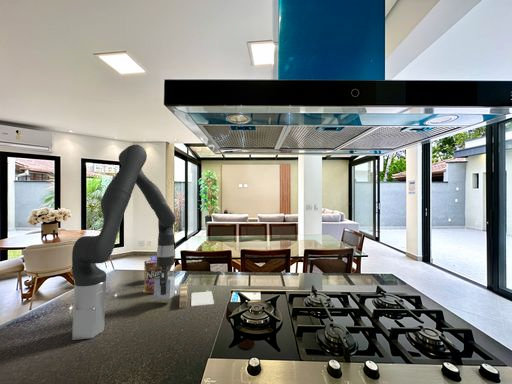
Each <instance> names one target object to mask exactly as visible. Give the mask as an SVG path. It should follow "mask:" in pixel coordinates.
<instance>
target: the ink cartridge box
mask: <svg viewBox="0 0 512 384" xmlns="http://www.w3.org/2000/svg"><path fill="white" fill-rule="evenodd" d="M147 261H157V254H155V255H150V259H149V260H144V264H143V265H144V275H143V276H144V279H143V281H144V283H145V263H146V262H147Z"/></svg>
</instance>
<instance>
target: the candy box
mask: <svg viewBox="0 0 512 384" xmlns="http://www.w3.org/2000/svg"><path fill="white" fill-rule="evenodd" d="M146 261H147V262H146V263H145V282H144V288H143V289H144V290H143V292H144V294H154V279H155V278H157V277H159V276H160V270H161V269H162V267H159V266H157V265H156V264H157V261H148V260H146Z"/></svg>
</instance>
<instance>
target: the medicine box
mask: <svg viewBox="0 0 512 384" xmlns="http://www.w3.org/2000/svg"><path fill="white" fill-rule="evenodd" d="M175 280H176V279H175V276H169V277H168V280H167V285H166V294H165V295H161V286H160V276H159V277H157V278H155V279H154V293H153V299H169V300H170V299H171V298H173V297H174V296H175ZM162 283H165V281H162Z"/></svg>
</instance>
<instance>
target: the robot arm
mask: <svg viewBox="0 0 512 384" xmlns="http://www.w3.org/2000/svg"><path fill="white" fill-rule="evenodd" d="M147 157H148V154H147V151H146V149H145V147H143V146H142V145H140V144H131V145H129V146H127V147H126V148H125V149H124V150H122V151H121V152H120V153H119V154H118V162H119V164H120V165H121V167H120V168H119V170H118V172H116V174H115V175H114V176H113V178H112V180H111V181H109V183H108V185H107V187H106V189H105V191H104V193H103V196H102V197H101V200H100V208H101V209H100V210H101V214H102V217H103V225H102V227H101V230H100V233H99V235H85V236H80V237H79V238H78V239H77V240H76V241H75V242H74V244H73V248H72V253H71V269H72V271H71V273H72V278H73V280H74V285H73V286H74V288H73V291H74V292H73V307H72V309H73V311H72V327H71V336H72V337H71V340H72V341H77V340H85V339H93V338H95V337H96V336H98V335H100V334H101V333H102V332H104V330H105V312H106V293H107V292H106V291H107V290H106V288H107V272H106V271H105V270H102V269H101V268H99V266H97V264H103V263H106V262H107V261H108V260H109V259H110V258H111V256H112V253H113V251H114V249H115V244H116V243H117V242H116V241H117V237H118V233H119V230H120V227H121V223H122V221H123V218H124V215H125V212H126V210H127V207H128V206H129V202H130V200H131V197H132V194H133V191H134V189H135V186H137V187H138V188H139V190H140V192H141V193H142V194H143V196H144V198H145V200H146V202H147V203H148V205H149V206H150V208H151V209H152V210H153V212H154V214H155V216H156V218H157V219H158V225H157V226H158V237H157V248H156V249H157V250H156V258H157V264H156V265H157V266H159V267H162V269H161V270H160V286H161V295H165V294H166V285H167V280H168V277H171V276H170V272H171V267H173V265H174V264H175V233H174V224H175V223H176V216H175V213H174V211H173V210H172V209H171V208H170V206H169V205H168V203H167V201H166V199H165V197H164V195H163V194H162V191H161V190H160V188H159V187H158V186H157V185H156V184H155V183H154V182H152V180H150V179H149V178H148V177H147V175H146V174H145V173H144V171H143V167H144V165H145V164H146V162H147ZM162 281H165V283H162ZM99 333H100V334H99Z"/></svg>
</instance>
